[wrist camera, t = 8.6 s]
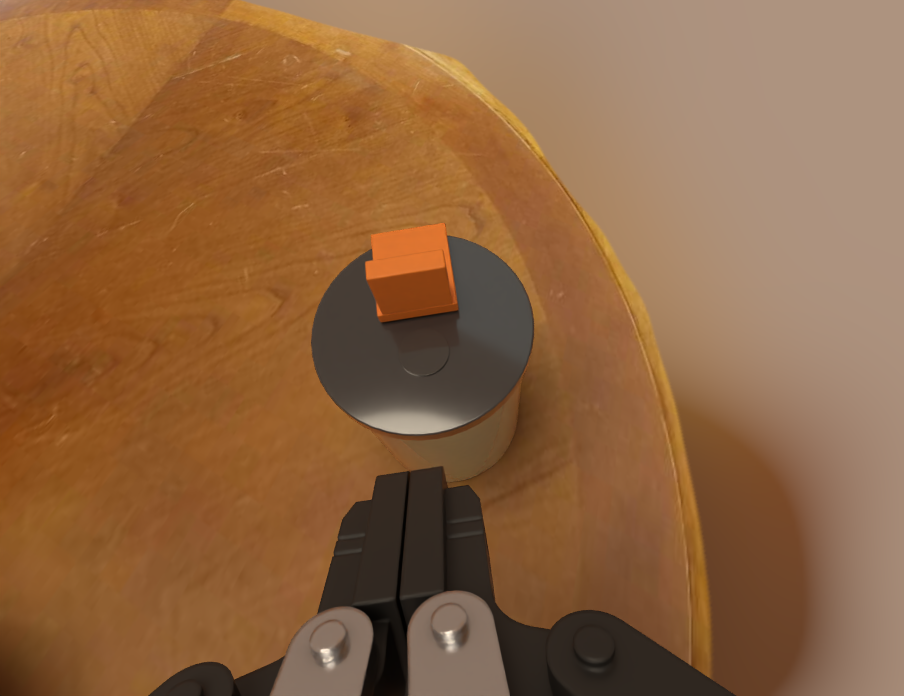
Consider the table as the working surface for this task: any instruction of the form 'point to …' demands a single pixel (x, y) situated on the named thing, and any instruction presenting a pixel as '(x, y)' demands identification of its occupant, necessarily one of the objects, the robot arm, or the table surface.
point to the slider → (411, 273)
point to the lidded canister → (431, 364)
